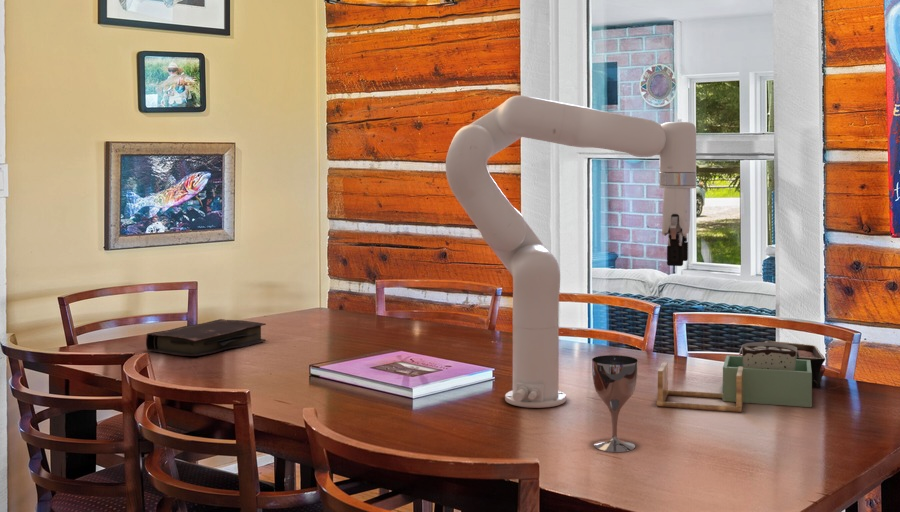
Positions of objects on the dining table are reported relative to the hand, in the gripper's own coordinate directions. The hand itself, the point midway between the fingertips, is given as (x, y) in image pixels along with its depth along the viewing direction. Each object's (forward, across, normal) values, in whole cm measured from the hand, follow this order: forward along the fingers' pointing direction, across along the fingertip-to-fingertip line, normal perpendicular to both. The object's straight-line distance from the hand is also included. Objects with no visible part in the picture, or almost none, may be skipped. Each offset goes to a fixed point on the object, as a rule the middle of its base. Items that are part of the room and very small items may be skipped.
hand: (677, 263), depth 201 cm
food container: (+28, -7, +18) cm, 34 cm away
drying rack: (+28, +2, +5) cm, 29 cm away
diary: (+28, -20, -125) cm, 130 cm away
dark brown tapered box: (+28, -24, +23) cm, 44 cm away
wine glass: (+28, +36, -7) cm, 46 cm away
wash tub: (+28, -7, +18) cm, 34 cm away
